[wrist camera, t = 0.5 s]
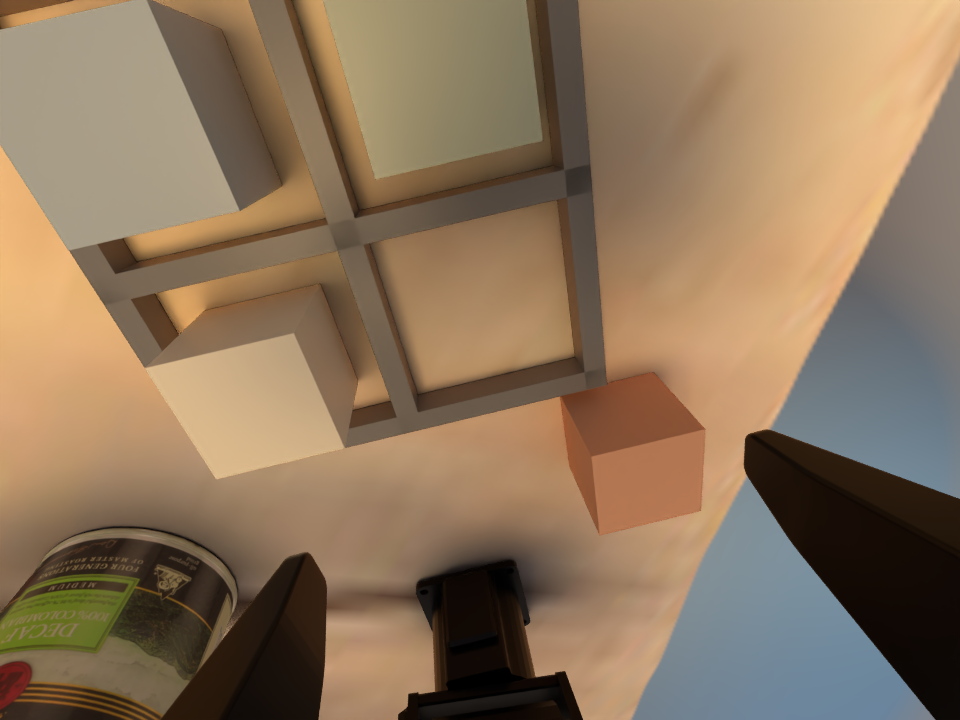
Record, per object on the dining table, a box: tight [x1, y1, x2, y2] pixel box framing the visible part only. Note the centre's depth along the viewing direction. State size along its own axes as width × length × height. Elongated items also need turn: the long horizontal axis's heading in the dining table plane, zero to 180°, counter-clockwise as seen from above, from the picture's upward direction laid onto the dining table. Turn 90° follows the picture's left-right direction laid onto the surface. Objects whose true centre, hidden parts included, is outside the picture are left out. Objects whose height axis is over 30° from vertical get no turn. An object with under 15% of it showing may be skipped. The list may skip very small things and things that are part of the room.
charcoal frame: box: [0, 0, 607, 479], centre depth 17 cm, size 19×19×5 cm
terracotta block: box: [560, 372, 705, 535], centre depth 23 cm, size 5×5×5 cm
